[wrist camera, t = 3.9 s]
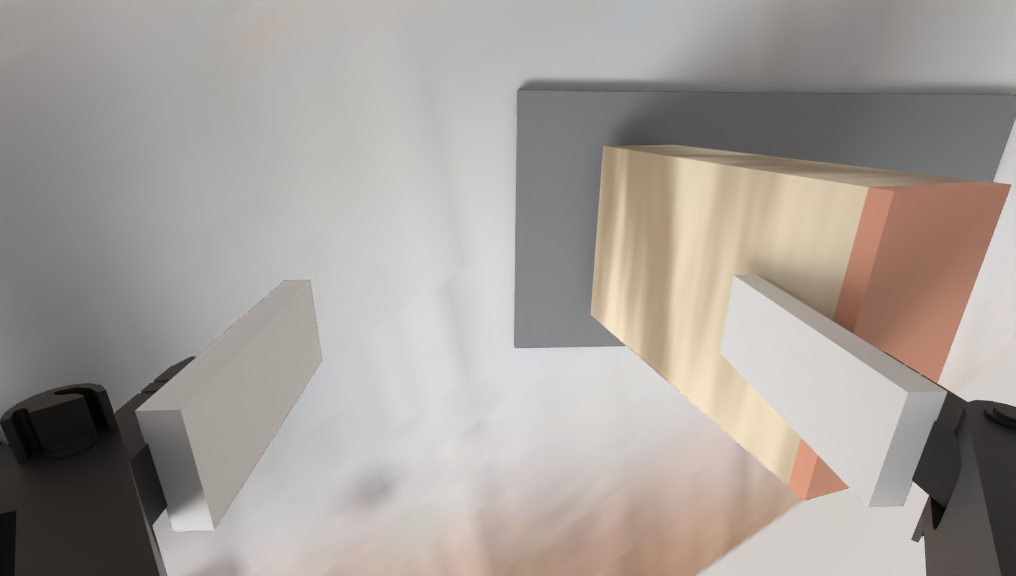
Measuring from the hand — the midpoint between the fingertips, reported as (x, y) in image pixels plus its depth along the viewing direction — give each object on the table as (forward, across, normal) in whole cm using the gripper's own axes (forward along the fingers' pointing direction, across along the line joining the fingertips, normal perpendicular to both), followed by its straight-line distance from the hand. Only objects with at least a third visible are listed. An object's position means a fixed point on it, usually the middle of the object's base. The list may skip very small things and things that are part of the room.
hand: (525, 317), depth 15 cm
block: (+11, -6, 0) cm, 13 cm away
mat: (+12, -13, 0) cm, 18 cm away
